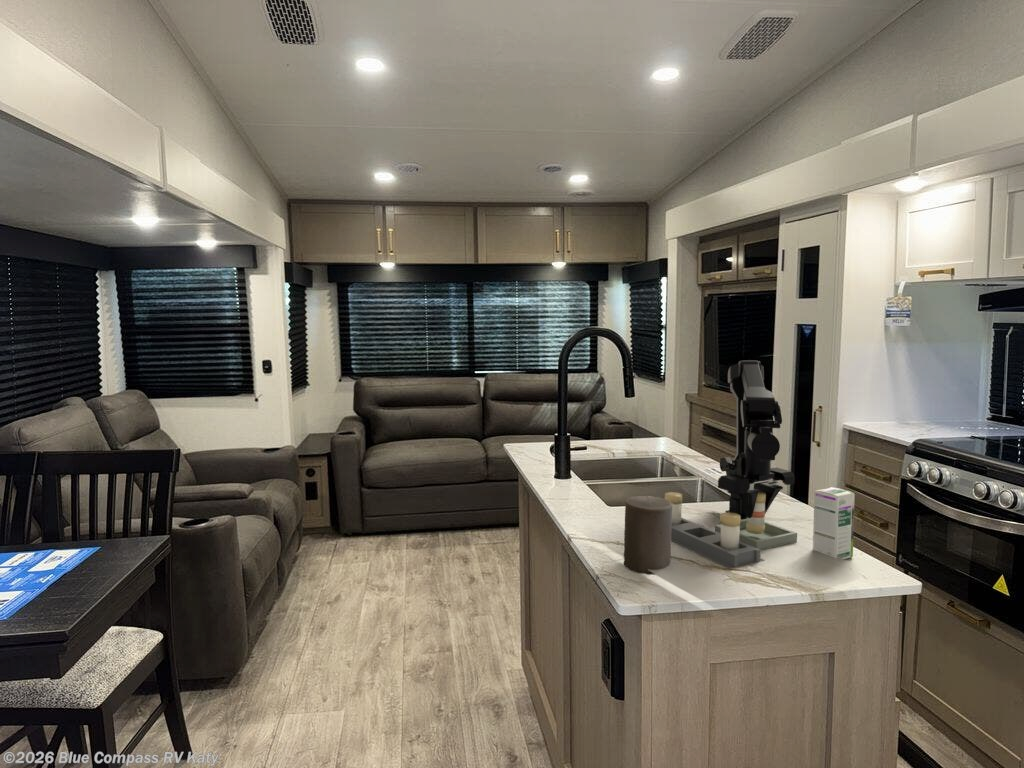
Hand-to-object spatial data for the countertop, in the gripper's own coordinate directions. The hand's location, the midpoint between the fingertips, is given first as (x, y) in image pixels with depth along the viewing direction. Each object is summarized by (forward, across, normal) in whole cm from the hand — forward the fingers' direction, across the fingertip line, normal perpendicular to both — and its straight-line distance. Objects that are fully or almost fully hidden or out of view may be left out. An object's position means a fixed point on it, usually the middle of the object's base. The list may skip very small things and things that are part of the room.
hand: (755, 516), depth 145 cm
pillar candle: (+6, +31, 0) cm, 32 cm away
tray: (+6, 0, 0) cm, 6 cm away
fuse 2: (+5, +14, +6) cm, 16 cm away
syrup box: (+6, -8, +14) cm, 17 cm away
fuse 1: (+5, +14, -12) cm, 19 cm away
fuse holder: (+6, +14, -3) cm, 16 cm away
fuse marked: (+4, 0, 0) cm, 4 cm away
